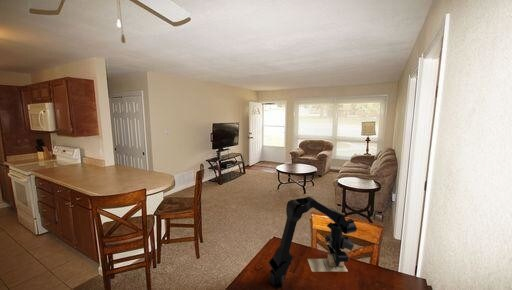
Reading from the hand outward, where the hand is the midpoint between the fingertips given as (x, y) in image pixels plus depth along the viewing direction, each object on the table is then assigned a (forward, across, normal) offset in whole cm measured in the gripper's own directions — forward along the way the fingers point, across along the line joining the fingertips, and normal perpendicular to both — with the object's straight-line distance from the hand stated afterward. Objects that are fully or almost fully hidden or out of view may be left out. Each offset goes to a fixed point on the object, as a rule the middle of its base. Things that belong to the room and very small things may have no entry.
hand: (335, 263), depth 114 cm
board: (+2, 0, +4) cm, 5 cm away
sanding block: (+1, 0, 0) cm, 1 cm away
